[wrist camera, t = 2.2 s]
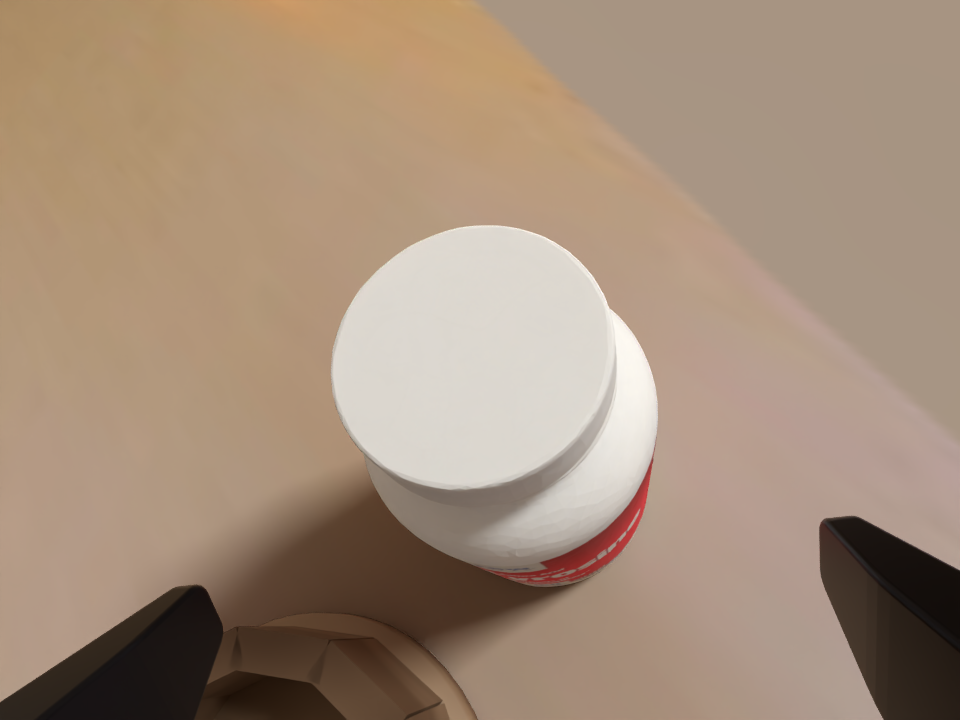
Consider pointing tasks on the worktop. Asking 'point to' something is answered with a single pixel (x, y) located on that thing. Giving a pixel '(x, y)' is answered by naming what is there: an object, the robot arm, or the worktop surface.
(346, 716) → the collar stand
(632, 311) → the worktop surface
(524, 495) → the pill bottle
